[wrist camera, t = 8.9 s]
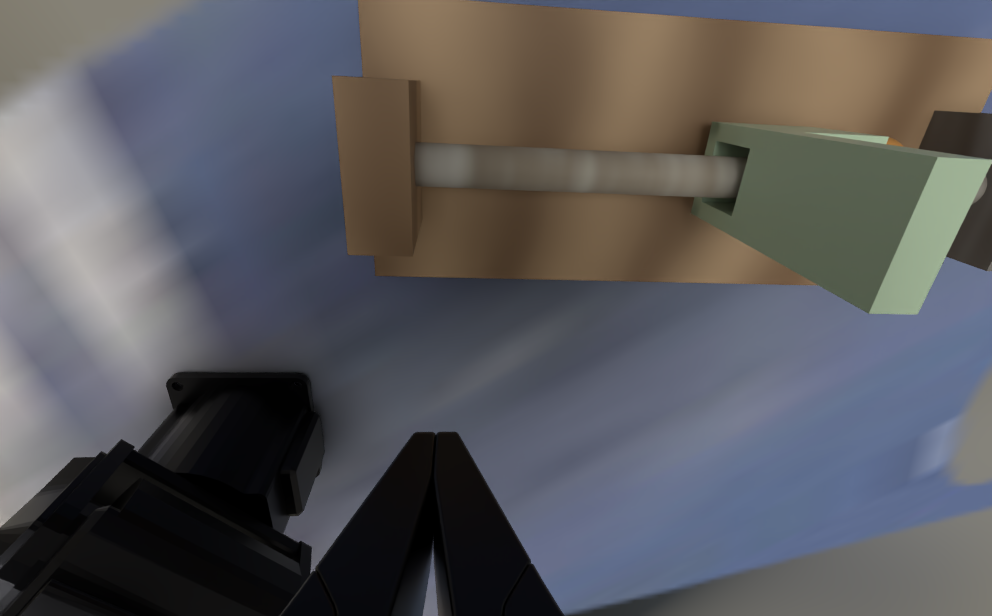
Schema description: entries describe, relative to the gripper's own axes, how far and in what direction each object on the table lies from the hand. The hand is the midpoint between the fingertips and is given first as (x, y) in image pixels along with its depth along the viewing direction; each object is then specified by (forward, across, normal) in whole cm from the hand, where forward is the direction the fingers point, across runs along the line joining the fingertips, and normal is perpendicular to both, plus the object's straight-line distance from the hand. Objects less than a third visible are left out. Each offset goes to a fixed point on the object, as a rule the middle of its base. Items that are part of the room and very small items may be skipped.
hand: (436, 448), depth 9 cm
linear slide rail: (+13, -9, -4) cm, 16 cm away
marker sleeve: (+11, -12, -4) cm, 16 cm away
